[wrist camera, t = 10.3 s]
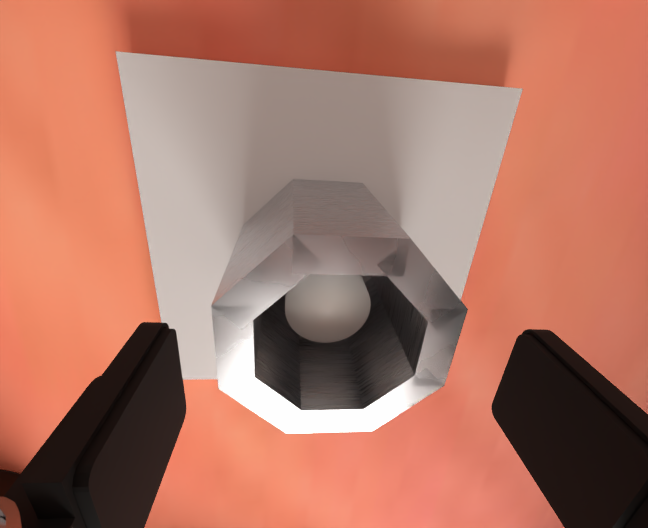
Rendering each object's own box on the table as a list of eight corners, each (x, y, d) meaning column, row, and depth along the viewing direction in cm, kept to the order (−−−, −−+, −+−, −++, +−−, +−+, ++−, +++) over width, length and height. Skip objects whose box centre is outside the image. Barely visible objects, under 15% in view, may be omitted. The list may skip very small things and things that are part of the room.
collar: (409, 185, 13) (488, 241, 8) (384, 320, 16) (430, 429, 11) (241, 175, 13) (204, 231, 7) (246, 319, 15) (222, 435, 10)
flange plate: (503, 89, 13) (619, 83, 9) (429, 361, 19) (473, 444, 15) (131, 56, 12) (25, 25, 7) (178, 362, 18) (137, 455, 13)
